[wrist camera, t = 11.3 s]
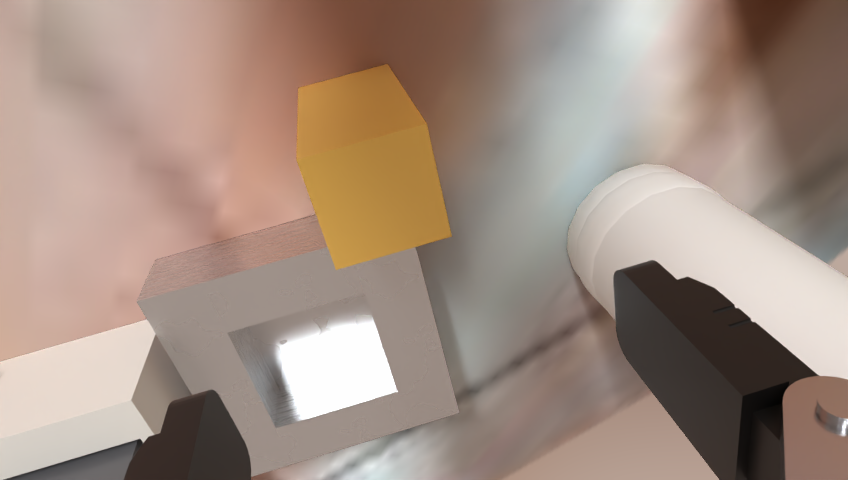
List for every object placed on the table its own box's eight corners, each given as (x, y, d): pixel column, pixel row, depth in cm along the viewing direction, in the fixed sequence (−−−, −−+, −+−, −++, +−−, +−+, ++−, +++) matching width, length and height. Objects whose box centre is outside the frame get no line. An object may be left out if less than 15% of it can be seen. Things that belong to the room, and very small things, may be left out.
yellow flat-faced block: (298, 87, 24) (296, 159, 17) (387, 63, 25) (426, 123, 17) (325, 171, 26) (335, 270, 19) (408, 148, 27) (451, 236, 19)
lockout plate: (155, 259, 27) (136, 301, 24) (397, 191, 27) (409, 223, 24) (248, 429, 33) (242, 479, 30) (445, 369, 33) (459, 412, 30)
